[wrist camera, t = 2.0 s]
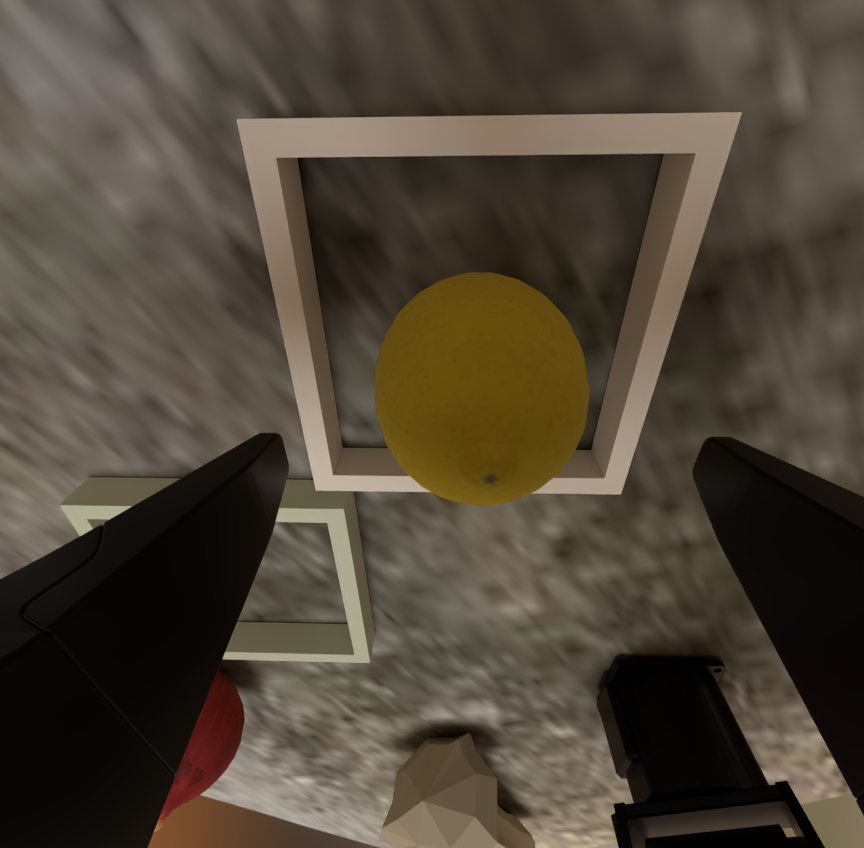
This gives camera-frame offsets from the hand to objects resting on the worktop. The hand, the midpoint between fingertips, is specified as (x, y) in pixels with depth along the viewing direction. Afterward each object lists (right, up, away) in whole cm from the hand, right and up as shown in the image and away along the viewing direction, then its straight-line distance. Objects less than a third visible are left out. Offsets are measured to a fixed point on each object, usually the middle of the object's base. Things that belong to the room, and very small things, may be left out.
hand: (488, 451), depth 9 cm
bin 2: (0, +4, +6) cm, 7 cm away
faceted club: (+2, -32, +29) cm, 43 cm away
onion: (-16, -16, +20) cm, 30 cm away
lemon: (0, +4, +6) cm, 7 cm away
